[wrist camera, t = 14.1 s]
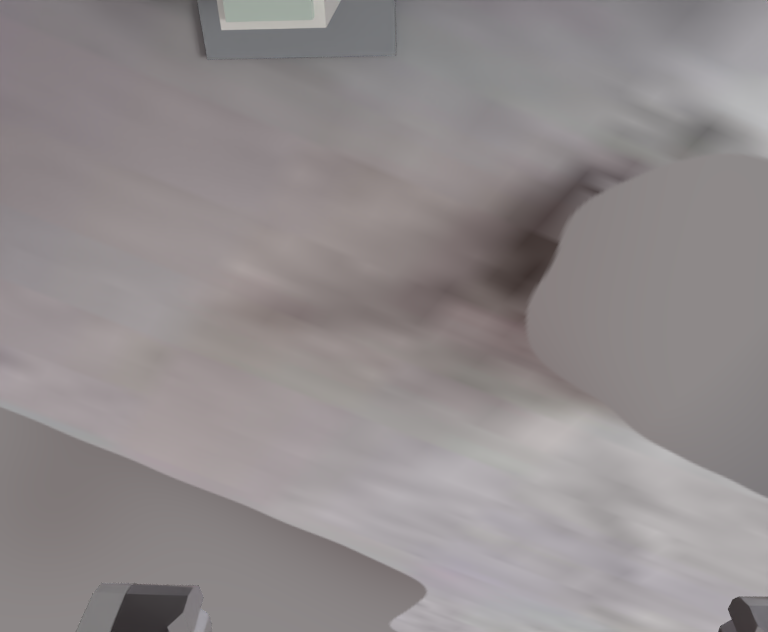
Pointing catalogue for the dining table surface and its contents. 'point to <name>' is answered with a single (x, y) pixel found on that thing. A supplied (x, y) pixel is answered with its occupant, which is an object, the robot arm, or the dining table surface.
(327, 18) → the block
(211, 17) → the mat
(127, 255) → the dining table surface
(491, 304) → the dining table surface
